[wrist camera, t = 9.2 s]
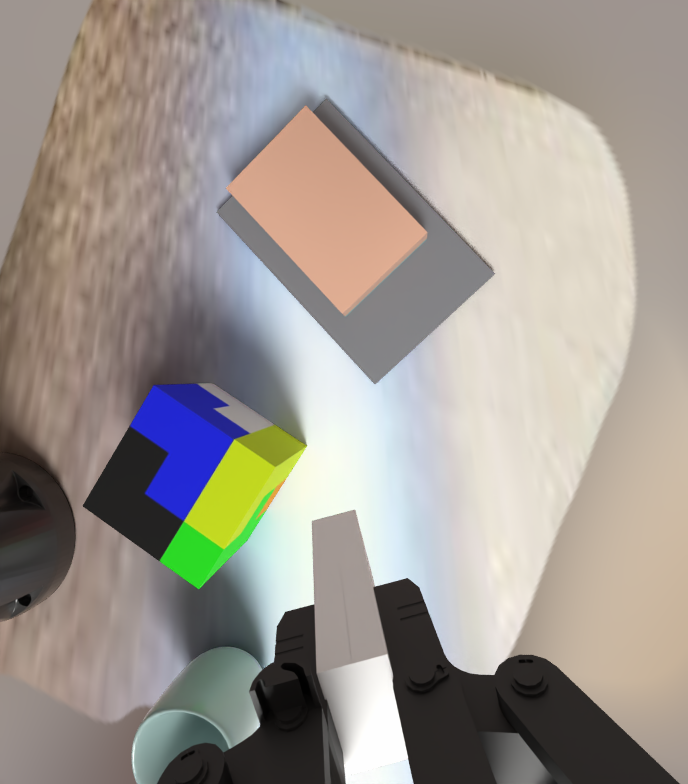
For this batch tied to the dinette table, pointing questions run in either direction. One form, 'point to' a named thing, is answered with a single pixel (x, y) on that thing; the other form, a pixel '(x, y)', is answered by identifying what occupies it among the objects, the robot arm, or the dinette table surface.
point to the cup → (198, 711)
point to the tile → (327, 211)
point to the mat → (399, 290)
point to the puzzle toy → (193, 477)
